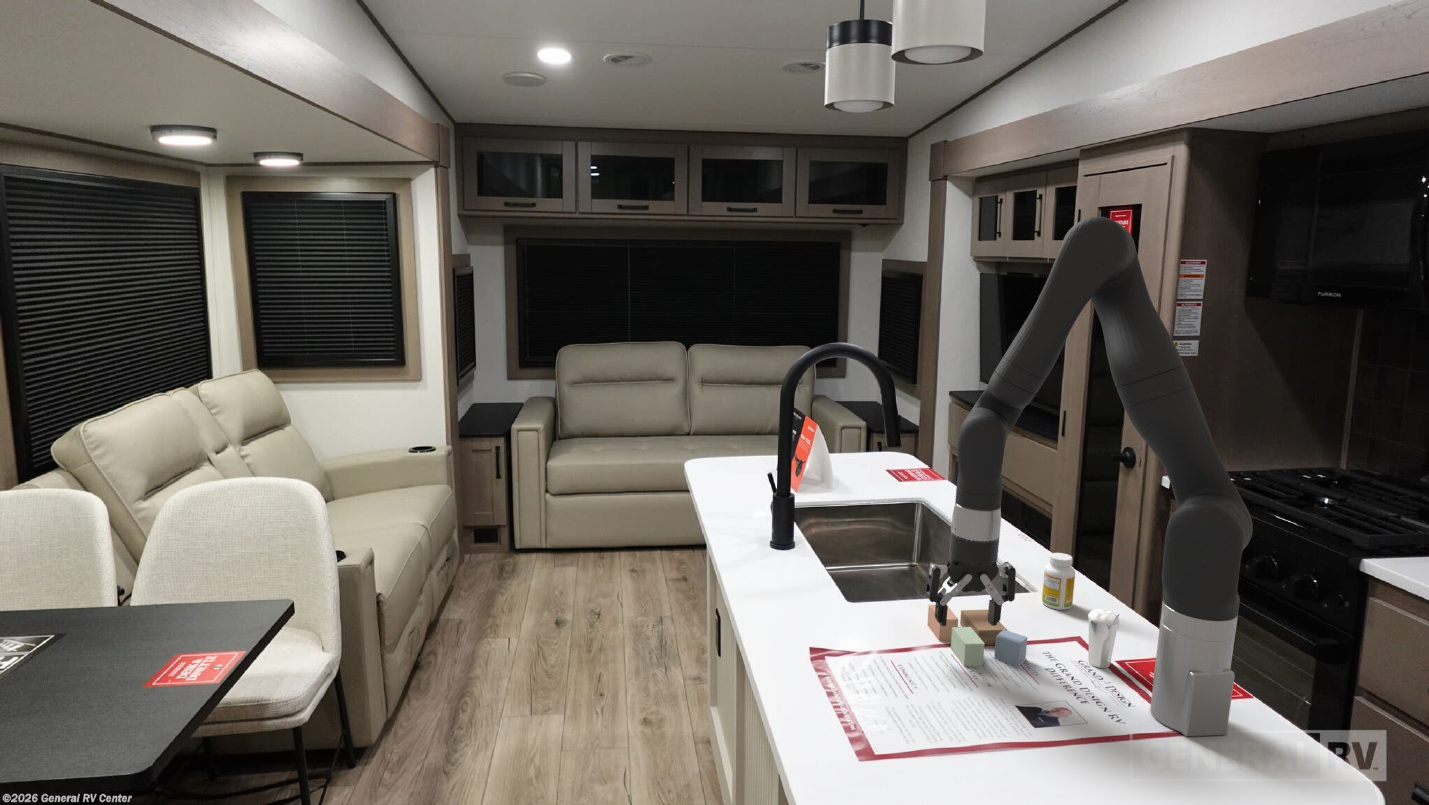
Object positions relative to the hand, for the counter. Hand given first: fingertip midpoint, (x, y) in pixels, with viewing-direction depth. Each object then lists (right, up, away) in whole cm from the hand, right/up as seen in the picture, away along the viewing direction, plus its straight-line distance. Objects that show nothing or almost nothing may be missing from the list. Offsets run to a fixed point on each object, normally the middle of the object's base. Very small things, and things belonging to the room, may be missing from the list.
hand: (967, 623), depth 139 cm
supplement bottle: (+23, -2, +21) cm, 32 cm away
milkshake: (+21, -6, -2) cm, 22 cm away
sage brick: (0, -6, +1) cm, 6 cm away
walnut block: (+5, -4, +9) cm, 11 cm away
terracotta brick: (-2, -4, +9) cm, 10 cm away
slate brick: (+7, -6, 0) cm, 9 cm away
